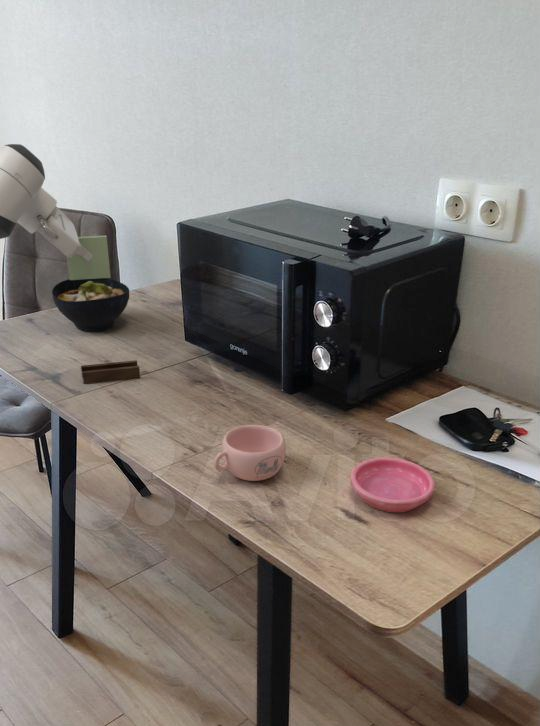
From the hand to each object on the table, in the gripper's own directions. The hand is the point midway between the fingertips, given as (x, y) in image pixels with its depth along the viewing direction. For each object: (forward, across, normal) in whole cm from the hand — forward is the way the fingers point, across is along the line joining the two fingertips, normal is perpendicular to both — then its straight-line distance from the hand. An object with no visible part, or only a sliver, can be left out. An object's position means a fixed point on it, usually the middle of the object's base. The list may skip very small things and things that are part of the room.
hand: (90, 256), depth 155 cm
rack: (+11, -30, +12) cm, 34 cm away
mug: (+23, -71, 0) cm, 75 cm away
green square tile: (+3, 0, +4) cm, 5 cm away
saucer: (+36, -83, -14) cm, 92 cm away
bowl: (+11, 0, +12) cm, 16 cm away
